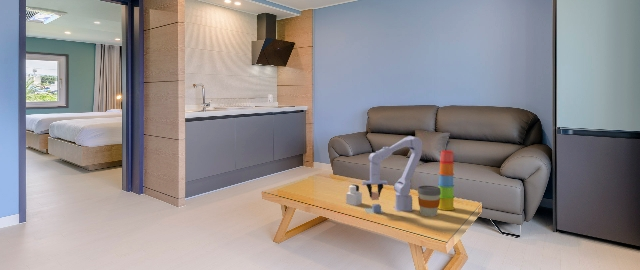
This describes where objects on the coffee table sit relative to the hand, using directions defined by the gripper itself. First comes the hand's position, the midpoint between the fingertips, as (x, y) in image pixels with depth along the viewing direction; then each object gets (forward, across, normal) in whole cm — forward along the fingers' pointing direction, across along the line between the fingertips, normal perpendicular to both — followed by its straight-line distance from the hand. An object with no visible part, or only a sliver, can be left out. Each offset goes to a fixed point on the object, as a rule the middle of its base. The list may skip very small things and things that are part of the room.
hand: (374, 196), depth 212 cm
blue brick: (+8, -1, +2) cm, 9 cm away
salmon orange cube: (+1, 0, 0) cm, 1 cm away
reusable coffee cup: (+9, -30, +6) cm, 32 cm away
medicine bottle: (+9, +9, -16) cm, 21 cm away
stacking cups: (+9, -44, -3) cm, 45 cm away
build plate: (+9, 0, -1) cm, 9 cm away
